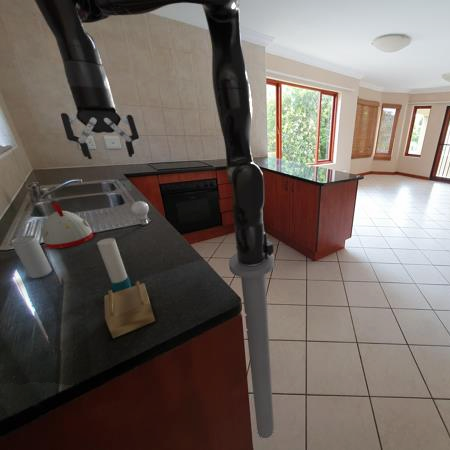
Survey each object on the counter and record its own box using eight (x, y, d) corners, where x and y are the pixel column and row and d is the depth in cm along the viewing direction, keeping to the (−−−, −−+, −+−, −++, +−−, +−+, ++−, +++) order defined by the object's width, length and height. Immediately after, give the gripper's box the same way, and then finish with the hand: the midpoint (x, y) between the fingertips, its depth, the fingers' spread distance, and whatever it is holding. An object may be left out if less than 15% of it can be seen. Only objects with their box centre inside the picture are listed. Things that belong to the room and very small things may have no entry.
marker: (96, 240, 60) (95, 246, 57) (115, 236, 62) (116, 242, 59) (113, 288, 66) (114, 296, 63) (131, 283, 68) (132, 290, 65)
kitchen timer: (49, 252, 83) (31, 212, 77) (42, 241, 91) (24, 204, 85) (98, 238, 94) (85, 202, 88) (87, 229, 101) (75, 195, 95)
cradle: (149, 300, 62) (143, 279, 59) (155, 321, 55) (148, 299, 53) (111, 313, 57) (102, 292, 55) (113, 338, 51) (103, 315, 48)
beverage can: (53, 268, 74) (37, 233, 70) (51, 275, 71) (33, 239, 66) (32, 273, 72) (13, 238, 67) (28, 281, 68) (8, 244, 64)
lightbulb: (141, 228, 103) (134, 204, 98) (133, 225, 105) (126, 202, 101) (155, 223, 108) (150, 200, 103) (147, 221, 110) (141, 198, 106)
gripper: (45, 81, 49) (74, 161, 55) (128, 88, 57) (144, 157, 63) (50, 85, 54) (76, 158, 61) (125, 90, 62) (141, 154, 69)
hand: (111, 157), depth 62 cm, fingers open, 8 cm apart
